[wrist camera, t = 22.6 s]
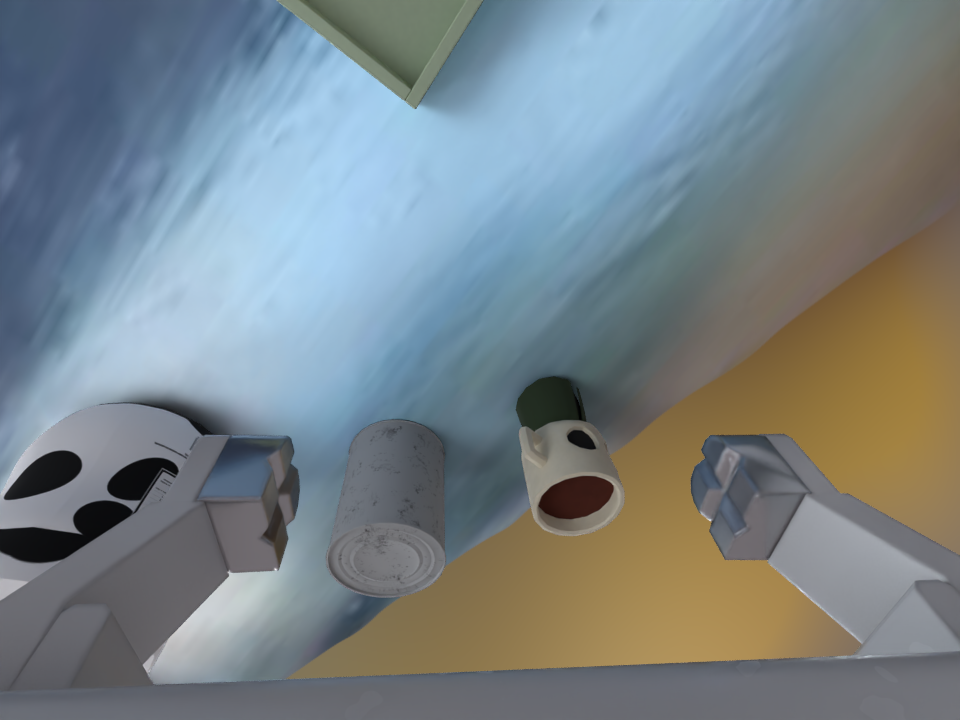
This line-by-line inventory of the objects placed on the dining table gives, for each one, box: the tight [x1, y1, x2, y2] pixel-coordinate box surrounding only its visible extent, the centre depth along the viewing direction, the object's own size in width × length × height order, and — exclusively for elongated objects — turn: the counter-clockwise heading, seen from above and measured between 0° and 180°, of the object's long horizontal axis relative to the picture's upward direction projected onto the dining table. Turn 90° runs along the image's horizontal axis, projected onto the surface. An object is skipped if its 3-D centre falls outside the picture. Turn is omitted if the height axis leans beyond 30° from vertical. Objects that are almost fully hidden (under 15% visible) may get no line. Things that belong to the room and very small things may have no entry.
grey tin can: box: [326, 419, 446, 597], centre depth 46 cm, size 10×10×12 cm
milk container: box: [0, 403, 213, 674], centre depth 42 cm, size 17×17×18 cm
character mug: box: [516, 376, 624, 536], centre depth 43 cm, size 11×7×13 cm, turn 46°
